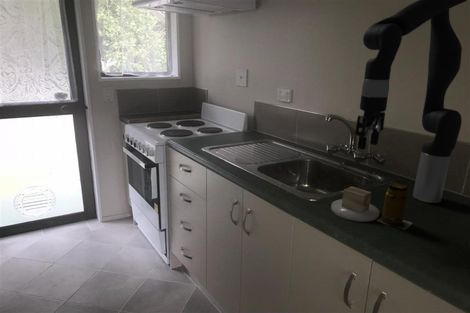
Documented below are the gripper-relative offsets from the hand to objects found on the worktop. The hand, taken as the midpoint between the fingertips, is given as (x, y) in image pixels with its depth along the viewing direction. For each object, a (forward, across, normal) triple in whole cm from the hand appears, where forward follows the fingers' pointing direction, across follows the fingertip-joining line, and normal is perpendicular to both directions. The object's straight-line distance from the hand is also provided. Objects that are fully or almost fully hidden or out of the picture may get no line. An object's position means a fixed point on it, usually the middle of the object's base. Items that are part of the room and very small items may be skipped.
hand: (367, 146), depth 108 cm
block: (+21, +2, -1) cm, 21 cm away
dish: (+22, +2, -1) cm, 22 cm away
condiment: (+22, 0, +11) cm, 25 cm away
